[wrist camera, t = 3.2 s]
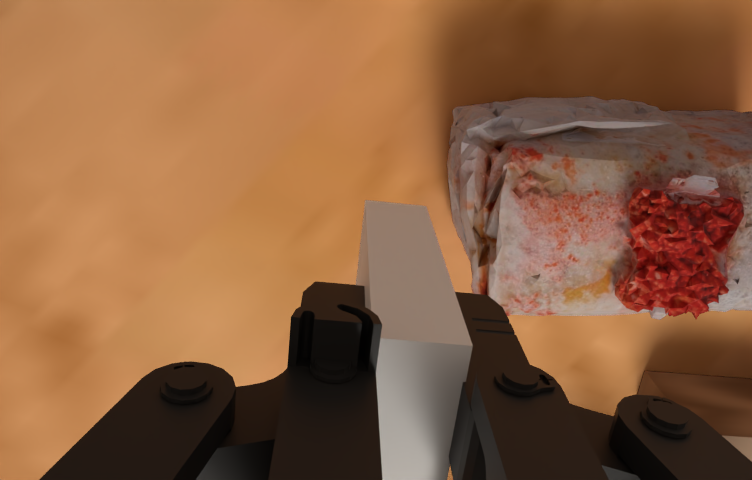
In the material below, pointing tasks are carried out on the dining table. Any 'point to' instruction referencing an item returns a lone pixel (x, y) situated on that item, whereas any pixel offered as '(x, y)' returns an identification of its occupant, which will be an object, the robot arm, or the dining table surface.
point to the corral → (709, 402)
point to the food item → (603, 206)
